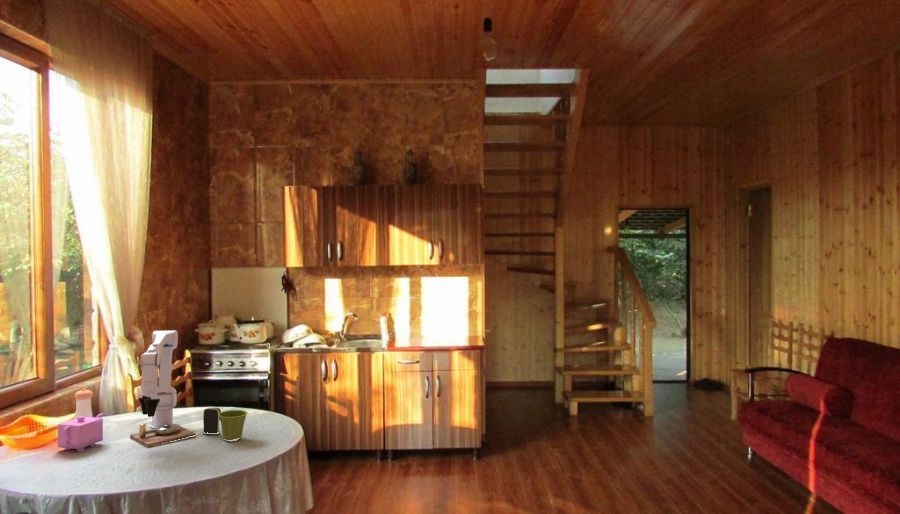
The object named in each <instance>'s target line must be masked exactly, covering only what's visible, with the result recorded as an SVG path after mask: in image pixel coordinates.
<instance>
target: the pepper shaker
mask: <svg viewBox="0 0 900 514" xmlns="http://www.w3.org/2000/svg"><path fill="white" fill-rule="evenodd" d="M93 396H94V393H93V391H92V390H89V389H87V388H82V389H81V390H78V391H76V392H75V393H74V399H75V400H76V401H75V403H76V406H75V407H76V408H75V414H74V419H76V418H77V417H79V416H85V417H93V411H92V398H93Z"/></svg>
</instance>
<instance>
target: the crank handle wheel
mask: <svg viewBox="0 0 900 514" xmlns="http://www.w3.org/2000/svg"><path fill="white" fill-rule="evenodd" d="M138 429H139V430H138V431H139V432H138V433H139V437H145V436H146V434H151V433H154V434H155V435H171V434H175V433H177V432H179V431H180V424H176V423H173V424H164V425H160V426H157V427H155V428H154V429H153V428H151V429H148V430H147V423H140V424H139V428H138Z"/></svg>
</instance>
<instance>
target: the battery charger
mask: <svg viewBox="0 0 900 514" xmlns="http://www.w3.org/2000/svg"><path fill="white" fill-rule="evenodd" d="M221 412H222V411H221V408H220V407H207V408H205V409H204V410H203V416H202V417H203V418H202V419H203V420H202V421H203V433H204V432H205V433H207V432H208V433H217V432H219V431H220V417H219V416H218V414H219V413H221Z"/></svg>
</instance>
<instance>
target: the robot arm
mask: <svg viewBox="0 0 900 514" xmlns="http://www.w3.org/2000/svg"><path fill="white" fill-rule="evenodd" d="M178 339H179V333H178V330H176V329H175V330H154V331H153V332H152V334H151V342H152V343H151V344H149V346H148V348H147V350H146V351H145V352H144V353H142V354H141V356H140V367H141V368H140V369H141V375H142V376H141V392H140V393H137V395H138V396H139V397H137V400H138V401H139V402H138V403H139V404H140V407H141V413H142V415H143V416H145V415H147V417H148V418H151V420H152V421H151V425H149V428H151V429H153V428H155V427H157V426H160V425H164V424H174V423H173V422H174V421H173V420H174V419H173V417H174V416H173V415H174V414H173V412H174V408H175V407H176V405H177V402H178V401H177V400H178V395H177V390H176V388H174V387H172V386H171V379H172V363H173V362H172V361H173V352H174V350H175V349H177V348H178V344H179V343H178V341H179V340H178ZM158 371H159V372H158ZM158 373H159V380H158ZM140 396H141V397H140Z"/></svg>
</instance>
